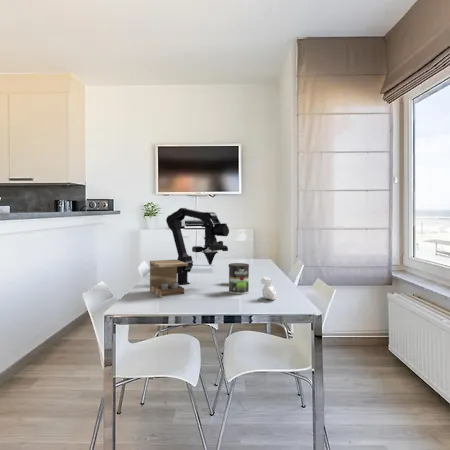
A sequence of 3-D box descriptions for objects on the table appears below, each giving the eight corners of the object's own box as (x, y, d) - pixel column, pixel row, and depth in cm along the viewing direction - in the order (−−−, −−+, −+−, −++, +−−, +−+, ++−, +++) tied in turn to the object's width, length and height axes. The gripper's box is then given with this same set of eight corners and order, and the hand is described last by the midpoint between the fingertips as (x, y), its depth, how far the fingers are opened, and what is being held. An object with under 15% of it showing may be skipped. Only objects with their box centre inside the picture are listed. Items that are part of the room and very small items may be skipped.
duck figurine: (267, 300, 189) (253, 281, 189) (280, 290, 189) (266, 272, 189) (269, 306, 177) (254, 286, 177) (282, 296, 177) (267, 276, 177)
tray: (155, 292, 196) (155, 282, 196) (178, 290, 201) (178, 280, 201) (160, 296, 188) (160, 285, 188) (184, 293, 193) (184, 283, 193)
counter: (149, 291, 200) (149, 260, 199) (176, 288, 206) (176, 259, 205) (159, 298, 183) (159, 265, 183) (188, 295, 189) (188, 263, 189)
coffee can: (251, 293, 194) (251, 265, 194) (231, 294, 192) (231, 266, 191) (245, 289, 204) (245, 262, 204) (226, 290, 202) (226, 263, 201)
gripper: (199, 237, 199) (199, 267, 199) (232, 236, 207) (232, 265, 207) (191, 235, 209) (191, 265, 209) (223, 235, 217) (223, 263, 217)
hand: (210, 264), depth 210 cm, fingers closed
